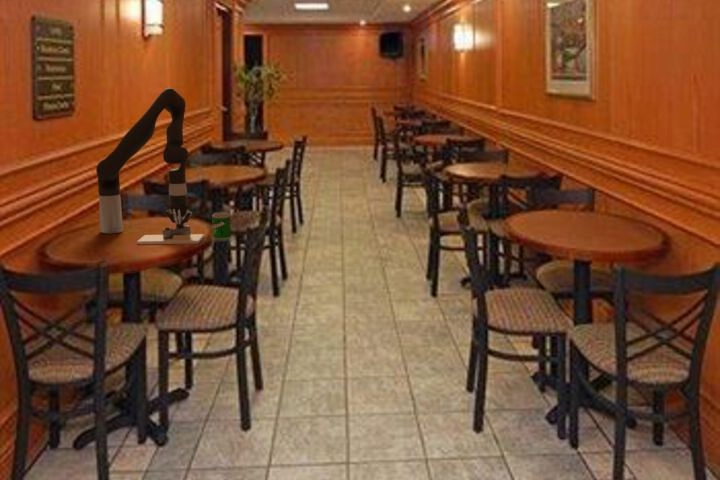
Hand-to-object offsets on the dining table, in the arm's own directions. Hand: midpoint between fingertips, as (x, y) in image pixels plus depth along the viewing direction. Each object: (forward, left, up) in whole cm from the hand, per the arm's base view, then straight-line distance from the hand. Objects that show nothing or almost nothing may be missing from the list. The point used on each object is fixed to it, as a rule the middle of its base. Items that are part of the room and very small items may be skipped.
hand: (180, 232), depth 335 cm
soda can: (+19, +5, -3) cm, 20 cm away
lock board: (0, -6, -3) cm, 6 cm away
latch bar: (+2, -4, -1) cm, 5 cm away
